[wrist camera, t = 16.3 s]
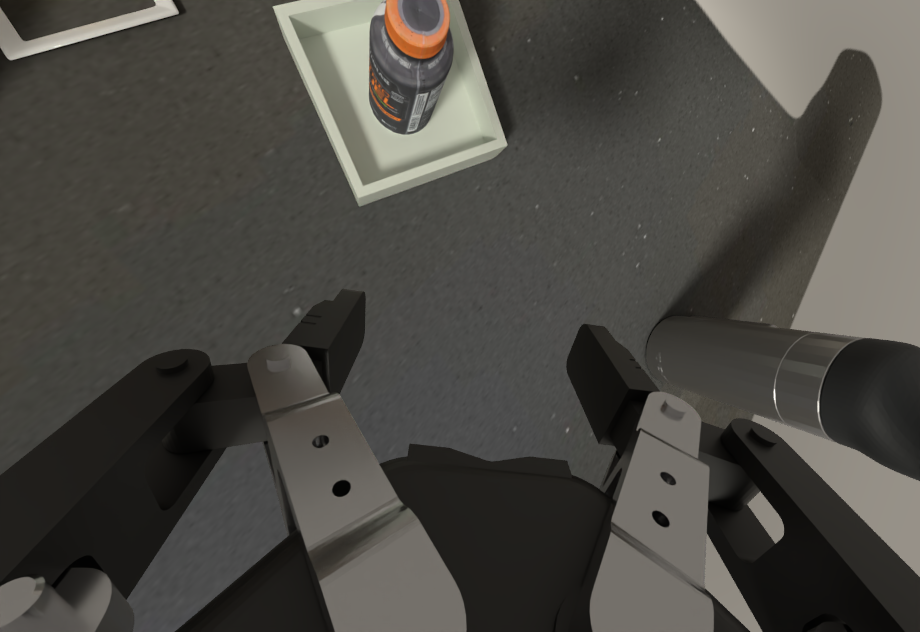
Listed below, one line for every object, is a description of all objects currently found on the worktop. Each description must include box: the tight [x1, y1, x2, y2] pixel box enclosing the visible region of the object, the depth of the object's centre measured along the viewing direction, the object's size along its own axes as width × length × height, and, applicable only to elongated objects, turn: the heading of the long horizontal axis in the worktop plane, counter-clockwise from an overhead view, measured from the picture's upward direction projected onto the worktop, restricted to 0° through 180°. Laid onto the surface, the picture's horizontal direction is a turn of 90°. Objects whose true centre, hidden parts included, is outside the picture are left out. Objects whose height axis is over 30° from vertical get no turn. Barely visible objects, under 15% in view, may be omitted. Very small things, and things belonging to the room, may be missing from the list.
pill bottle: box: [369, 0, 454, 135], centre depth 25 cm, size 6×6×11 cm
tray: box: [273, 0, 507, 207], centre depth 30 cm, size 15×15×4 cm
